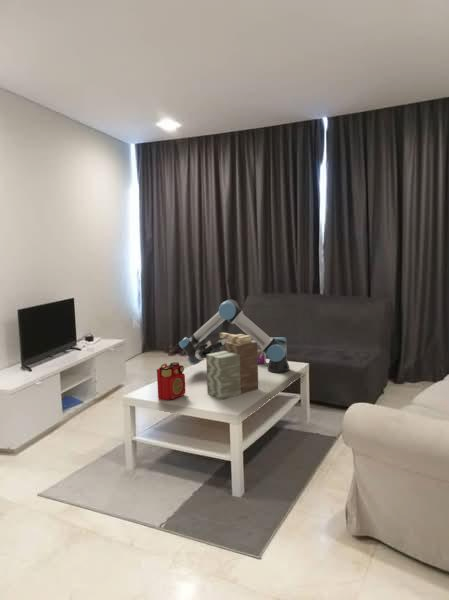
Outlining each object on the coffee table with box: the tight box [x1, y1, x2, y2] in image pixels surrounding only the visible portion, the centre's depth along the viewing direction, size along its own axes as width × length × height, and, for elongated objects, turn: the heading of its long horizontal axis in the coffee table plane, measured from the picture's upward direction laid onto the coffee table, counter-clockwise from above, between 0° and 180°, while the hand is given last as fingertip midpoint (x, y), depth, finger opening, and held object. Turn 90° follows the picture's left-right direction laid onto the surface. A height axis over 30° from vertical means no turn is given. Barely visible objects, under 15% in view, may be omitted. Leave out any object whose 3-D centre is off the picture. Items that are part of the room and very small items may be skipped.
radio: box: [156, 361, 186, 401], centre depth 268 cm, size 16×10×20 cm, turn 148°
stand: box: [205, 340, 259, 400], centre depth 273 cm, size 14×28×29 cm, turn 128°
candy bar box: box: [253, 340, 267, 365], centre depth 339 cm, size 11×5×16 cm, turn 71°
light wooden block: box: [219, 331, 252, 345], centre depth 281 cm, size 24×8×4 cm, turn 38°
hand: (218, 341), depth 292 cm, fingers open, 13 cm apart
